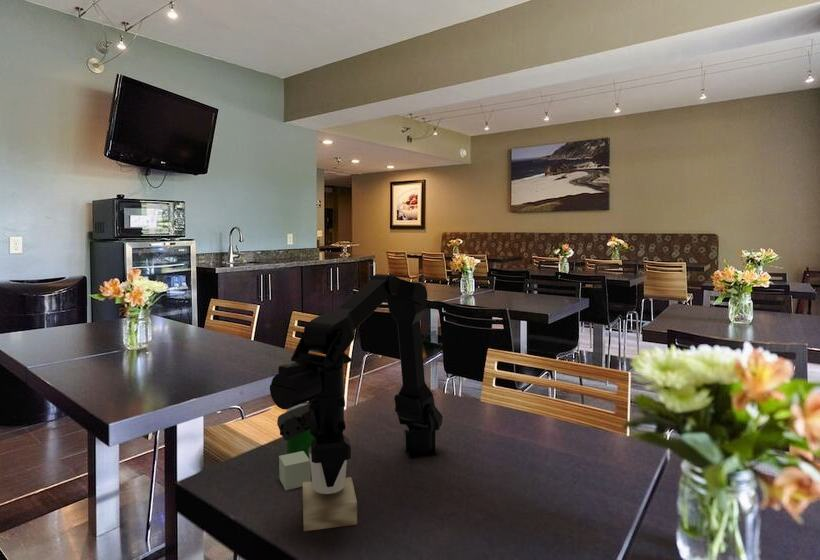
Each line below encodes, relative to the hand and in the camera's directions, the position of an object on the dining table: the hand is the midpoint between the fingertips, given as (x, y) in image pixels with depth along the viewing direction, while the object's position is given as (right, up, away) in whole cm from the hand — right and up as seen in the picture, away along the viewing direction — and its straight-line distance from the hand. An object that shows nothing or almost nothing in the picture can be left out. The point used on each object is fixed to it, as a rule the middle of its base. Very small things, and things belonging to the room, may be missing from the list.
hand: (328, 477), depth 88 cm
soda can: (-9, -5, +22) cm, 24 cm away
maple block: (0, -7, 0) cm, 7 cm away
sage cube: (-9, -6, +12) cm, 16 cm away
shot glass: (0, -2, 0) cm, 2 cm away
